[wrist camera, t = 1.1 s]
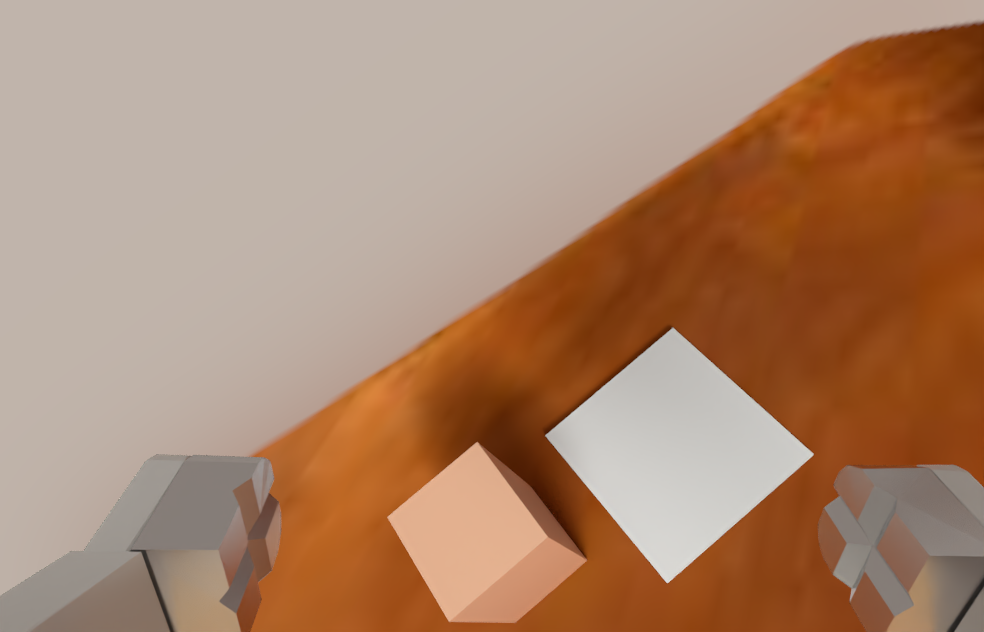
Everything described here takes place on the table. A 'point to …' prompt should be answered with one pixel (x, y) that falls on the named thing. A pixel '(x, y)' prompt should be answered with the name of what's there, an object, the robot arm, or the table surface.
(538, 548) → the peach rectangular block
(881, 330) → the table surface
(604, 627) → the table surface
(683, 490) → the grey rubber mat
